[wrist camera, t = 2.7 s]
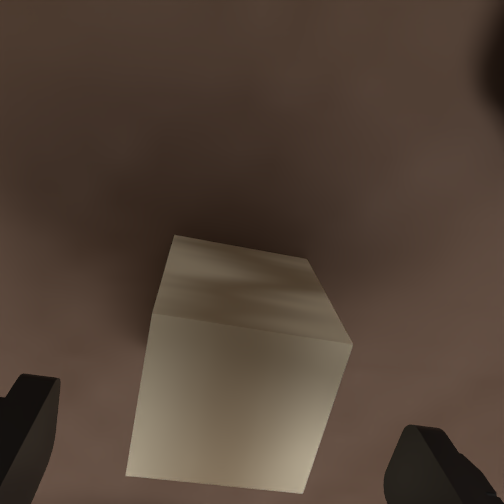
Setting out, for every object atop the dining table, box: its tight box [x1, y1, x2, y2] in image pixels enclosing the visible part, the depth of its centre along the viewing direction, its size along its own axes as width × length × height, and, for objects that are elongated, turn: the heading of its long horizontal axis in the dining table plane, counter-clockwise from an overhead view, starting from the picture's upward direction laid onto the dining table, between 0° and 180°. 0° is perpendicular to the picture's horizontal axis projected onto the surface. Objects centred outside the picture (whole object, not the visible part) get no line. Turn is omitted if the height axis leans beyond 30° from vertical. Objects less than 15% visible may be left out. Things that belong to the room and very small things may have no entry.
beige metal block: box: [126, 235, 353, 494], centre depth 14 cm, size 5×5×6 cm
